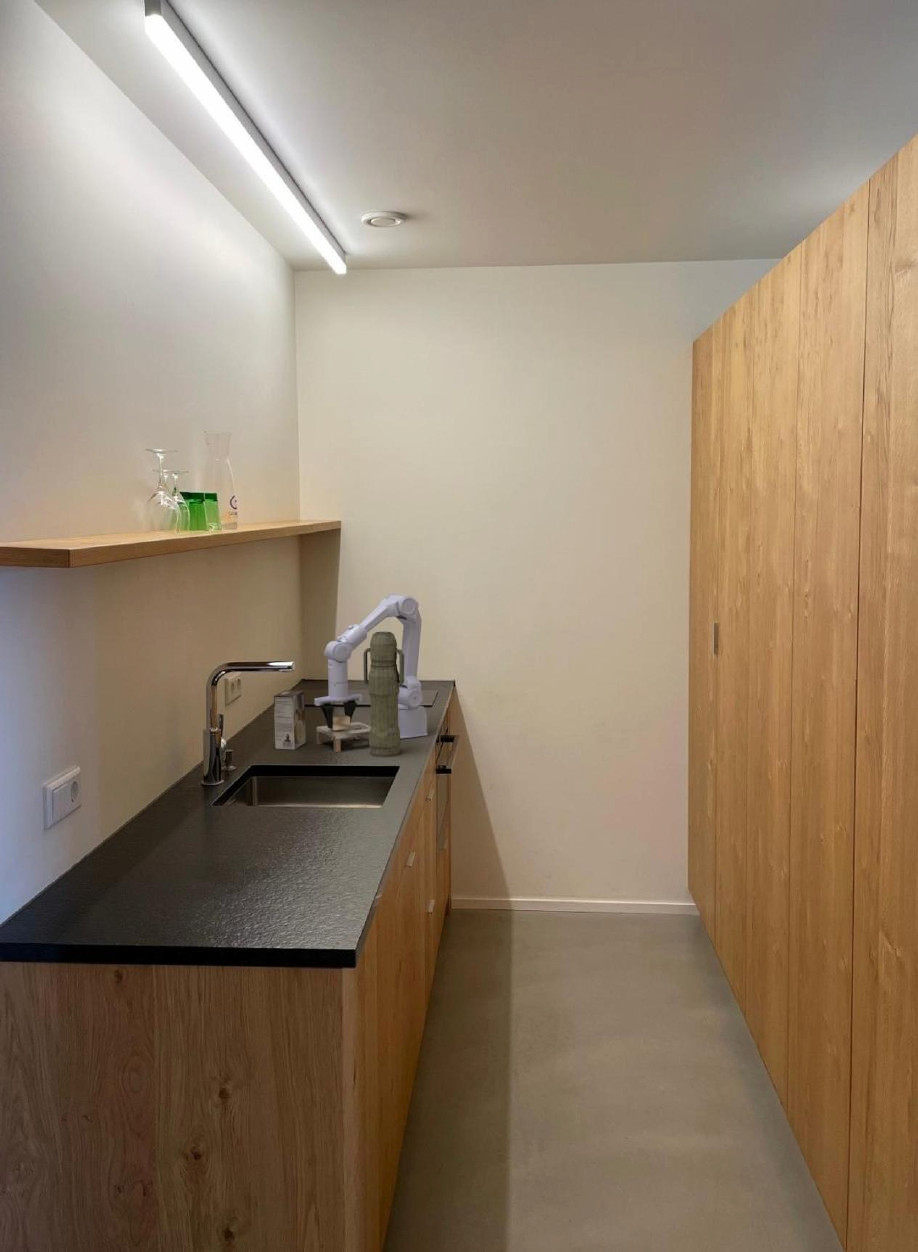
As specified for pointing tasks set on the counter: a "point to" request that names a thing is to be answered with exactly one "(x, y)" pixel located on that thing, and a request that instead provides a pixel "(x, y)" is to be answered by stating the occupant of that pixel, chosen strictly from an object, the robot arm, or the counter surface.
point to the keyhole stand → (342, 733)
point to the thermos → (384, 693)
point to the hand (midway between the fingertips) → (338, 727)
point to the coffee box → (289, 719)
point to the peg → (341, 723)
